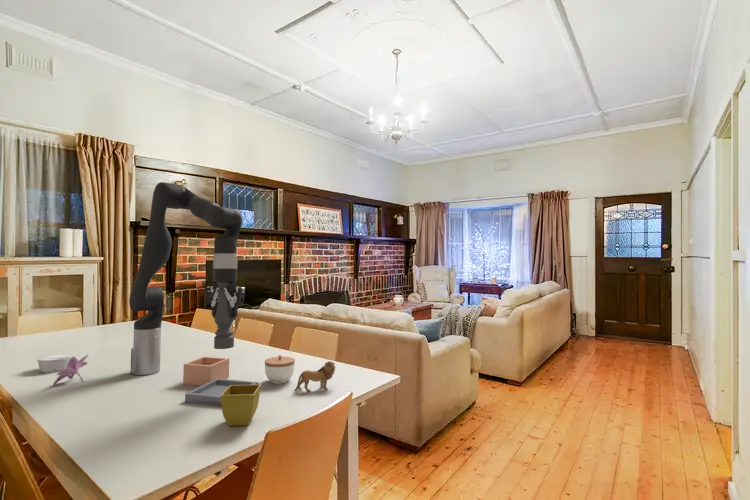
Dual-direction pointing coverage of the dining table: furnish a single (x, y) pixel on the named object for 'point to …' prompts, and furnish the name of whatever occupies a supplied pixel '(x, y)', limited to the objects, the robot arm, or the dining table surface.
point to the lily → (71, 369)
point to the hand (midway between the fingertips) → (224, 317)
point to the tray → (213, 391)
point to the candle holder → (223, 320)
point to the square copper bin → (205, 370)
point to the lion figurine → (317, 376)
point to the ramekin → (54, 362)
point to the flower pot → (240, 403)
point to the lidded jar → (279, 369)
